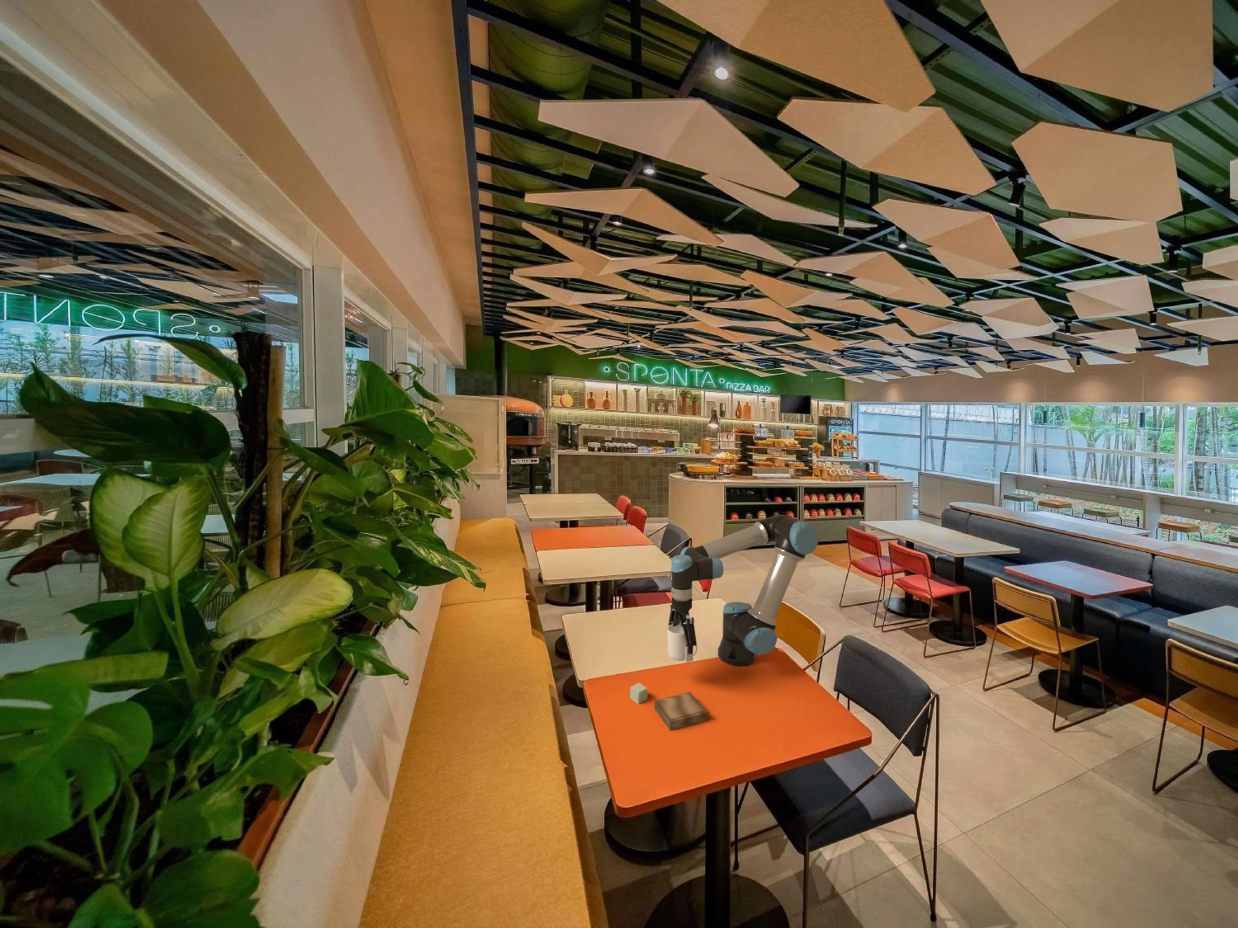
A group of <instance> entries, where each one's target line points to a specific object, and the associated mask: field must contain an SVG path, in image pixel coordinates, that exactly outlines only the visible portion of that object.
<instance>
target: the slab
mask: <svg viewBox="0 0 1238 928" xmlns="http://www.w3.org/2000/svg"><path fill="white" fill-rule="evenodd" d="M654 710H655V712H656V713H657V714H658V716H659V717H660V718H661V720H662V721H663V723H664V724H665V725H666V727H667V728H668V730H669V731H672V730H677V729H681V728H684V727H687V726H693V725H695V724H699V723H703V722H707V721H708V711H707V710H706V708H705V707H704V706H703V705H702V704H701V703H700V702H699V701H698V700H697V699H696V697H695V696H694V695H693V693H691V692H690V691H689V692H684V693H681V694H676V695H672V696H668V697H664V698H660V699H656V700H655V699H654Z"/></svg>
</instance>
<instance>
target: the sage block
mask: <svg viewBox="0 0 1238 928" xmlns="http://www.w3.org/2000/svg"><path fill="white" fill-rule="evenodd" d="M629 694H630V695H629V698H630V700H632V701H633V702H634V703H636V704H637V705H640V704H642V703H643V702H646V701H647V700H648V687H647V686H644V685H643V684H642V683H640V682H638V683H635V684H634V685H632V686H630V687H629Z"/></svg>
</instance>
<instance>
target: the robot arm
mask: <svg viewBox="0 0 1238 928" xmlns="http://www.w3.org/2000/svg"><path fill="white" fill-rule="evenodd" d="M769 543H775V545H774V549H775V551H776V553H775V556H774V558H773V560H772V562H771V565H770V568H769V570H768V572H767V575H766V578H765V580H764V582H763V584H762V587H761V588H760V592H759V593H758V596H757V598H756V601H755V603H754V606H752V605H751V604H750V603H746V602H743V601H742V602H740V601H732V602H731V601H730V602H726V604H724V606H723V611H722V637H721V640H720V642H719V643H720V644H719V646H718V649H717V656H718V659H719V660H721V661H722V662H724V663H726V664H728V665H730V666H737V667H746V666H750V665H752V664H753V663H754V662H755V660H756V659H755V657H756V656H757V655H758V656H762V655H766V654H767V653H770V652H771V651H772V650H774V648H775V647H776V646H777V645H776V644H777V642H778V641H777V640H778V637H777V633H776V631H775V630H776V627H777V626H778V625H777V621H776V616H777V614H778V612H779V608H780V607H781V604H782V602H783V599H784V597H785V594H786V592H787V589H788V587H789V585H790V583H791V580H792V578H793V576H794V573H795V571H796V568H797V566H798V563H799V562H801V561H803V560H805V558H806V556H807V555H810V554H811V553H813V552H814V551H815V550H816V549H817V547H818V544H819V535H818V532H817V530H816V528H815V527H814V526H813V525H812V524H810V523H808V522H806V521H804V520H801V519H797V518H795V517H792V516H790V515H786V514H785V515H784V514H779V515H778V514H777V515H773V516H769V517H766V518H763V519H761V520H758V521H755V523H754V524H753V525H751V526H749V527H746V528H744V529H741V530H738V531H735V532H732V533H731V534H730V533H729V534H727V535H726V536H723V537H720V538H718V539H714V540H712V541H709V542H707V543H704V544H701V545H698V546H696V547H694V546H686V547H684V548H682V550H681V551H680V554H677V555H674V556H673V557H672V559H671V566H670V567H671V569H670V571H671V591H670V593H671V605H670V611H669V619H668V624H667V625H668V626H669V625H671V624H673V627H675V626H677V625H679V624H680V623H681V626H682V627H683V630H684V635H685V639H686V643H687V644H685V656H686V660H685V663H690V662H693V661H694V656H693V653H694V647H696V645H697V636H696V630H695V618H694V617H691V616H690V610H691V609H692V608H693V598H692V597H693V582H698V581H706V580H707V581H708V580H714V579H715V580H716V579H721V578H722V577H723V575H724V564H723V562H722V560H721V559H722V558H726V557H728V556H730V555H733V554H735V553H738V552H740V551H743V550H746V549H749V548H751V547H754V546H757V545H759V544H764V545H765V544H769ZM697 646H698V645H697Z"/></svg>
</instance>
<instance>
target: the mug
mask: <svg viewBox="0 0 1238 928" xmlns="http://www.w3.org/2000/svg"><path fill="white" fill-rule="evenodd" d="M685 644H687V643H686V639H685V635H684V630H683V627H682V626H681V623H680V624H679V625H677V626H675V627H673V624H671V625H668V626H667V656H668V657H669V659H672V660H674V661H676V662H677V661H679V662H681V661H682V662H683V661H686V656H685ZM697 652H698V645H696V646H695V651H693V657H694V656H695V655H696V654H697Z"/></svg>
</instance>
